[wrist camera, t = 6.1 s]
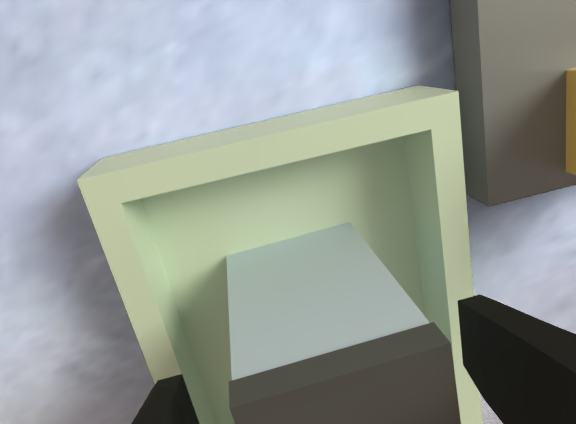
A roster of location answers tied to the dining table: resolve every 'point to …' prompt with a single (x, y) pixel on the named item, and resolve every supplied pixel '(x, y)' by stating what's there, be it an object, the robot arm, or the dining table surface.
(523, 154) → the block
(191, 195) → the parts tray
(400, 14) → the dining table surface
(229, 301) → the grey-green rectangular block
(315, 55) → the dining table surface
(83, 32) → the dining table surface
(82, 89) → the dining table surface
